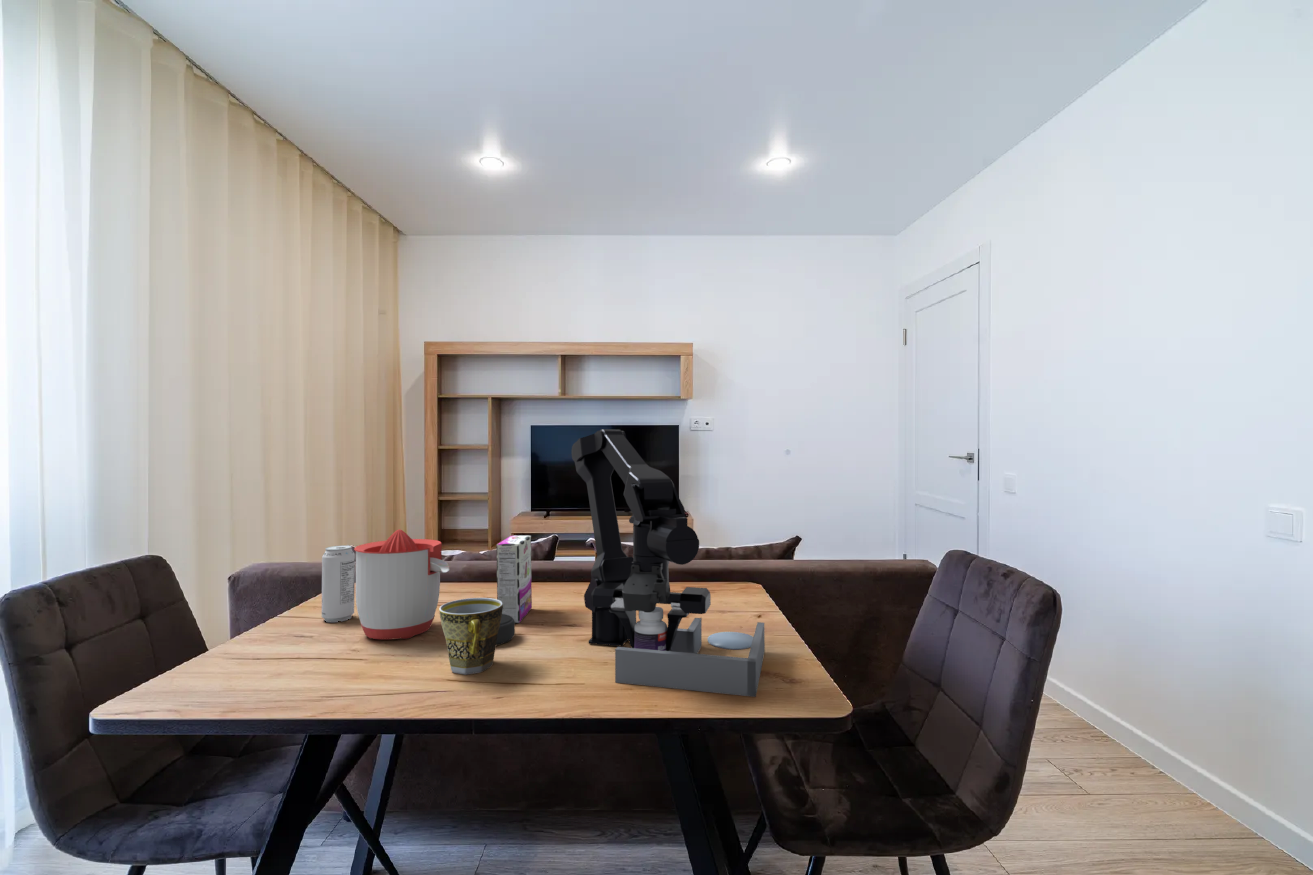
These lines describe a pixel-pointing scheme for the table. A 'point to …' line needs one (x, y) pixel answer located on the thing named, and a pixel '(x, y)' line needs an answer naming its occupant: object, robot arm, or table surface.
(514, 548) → the candy bar box
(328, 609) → the energy drink can
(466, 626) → the ceramic cup
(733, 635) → the pad
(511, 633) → the smart speaker
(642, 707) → the table surface
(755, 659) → the channel
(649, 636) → the pill bottle
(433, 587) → the citrus juicer
